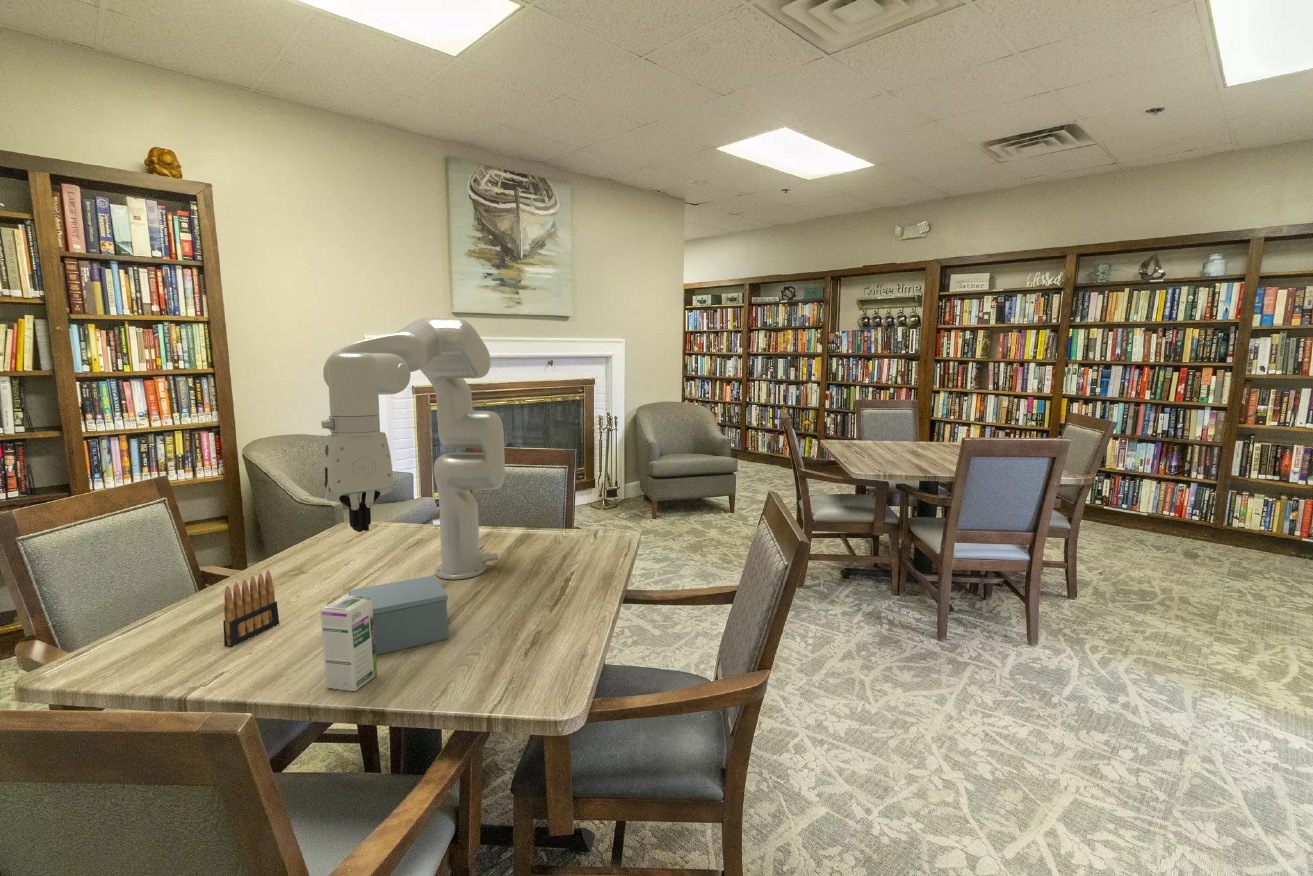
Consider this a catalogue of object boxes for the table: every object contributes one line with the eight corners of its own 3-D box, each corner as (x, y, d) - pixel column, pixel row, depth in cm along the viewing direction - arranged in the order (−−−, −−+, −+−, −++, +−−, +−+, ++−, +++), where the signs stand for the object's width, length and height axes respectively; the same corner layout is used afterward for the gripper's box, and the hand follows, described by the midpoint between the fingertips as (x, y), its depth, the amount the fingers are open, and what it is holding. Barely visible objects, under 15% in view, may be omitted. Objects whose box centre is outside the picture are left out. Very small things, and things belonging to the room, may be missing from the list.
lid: (433, 579, 128) (433, 575, 128) (447, 599, 118) (447, 594, 118) (348, 595, 119) (348, 590, 119) (355, 618, 109) (355, 612, 109)
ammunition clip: (272, 622, 125) (268, 568, 123) (279, 624, 125) (275, 569, 123) (224, 646, 115) (218, 586, 113) (231, 647, 114) (226, 587, 113)
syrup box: (355, 693, 99) (350, 610, 97) (324, 688, 100) (319, 607, 98) (377, 675, 105) (373, 597, 103) (348, 671, 106) (343, 594, 104)
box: (434, 616, 129) (433, 581, 128) (447, 638, 119) (446, 600, 118) (352, 633, 120) (350, 596, 119) (359, 659, 110) (356, 618, 109)
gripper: (315, 430, 94) (321, 543, 96) (408, 424, 105) (412, 526, 107) (299, 426, 99) (306, 534, 101) (389, 421, 110) (393, 518, 112)
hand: (360, 529), depth 104 cm, fingers closed
